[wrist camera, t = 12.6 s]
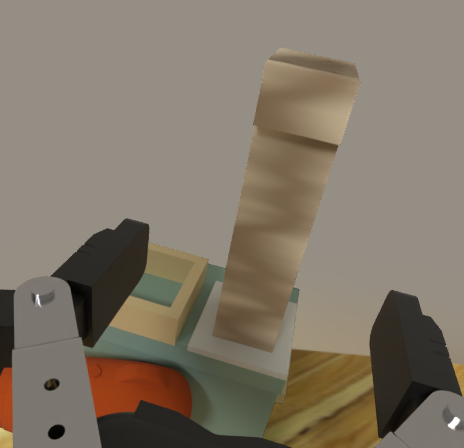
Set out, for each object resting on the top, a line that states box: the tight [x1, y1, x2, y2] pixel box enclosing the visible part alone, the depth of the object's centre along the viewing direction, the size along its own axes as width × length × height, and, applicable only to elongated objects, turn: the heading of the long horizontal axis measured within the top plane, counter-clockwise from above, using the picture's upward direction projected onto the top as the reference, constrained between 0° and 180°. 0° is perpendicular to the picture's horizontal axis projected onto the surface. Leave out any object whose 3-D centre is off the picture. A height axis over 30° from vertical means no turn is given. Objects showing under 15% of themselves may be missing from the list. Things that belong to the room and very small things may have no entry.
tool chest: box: [84, 242, 299, 438], centre depth 29 cm, size 14×8×16 cm, turn 77°
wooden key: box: [212, 48, 360, 353], centre depth 21 cm, size 4×5×15 cm
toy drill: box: [0, 356, 193, 433], centre depth 24 cm, size 5×19×15 cm, turn 95°
